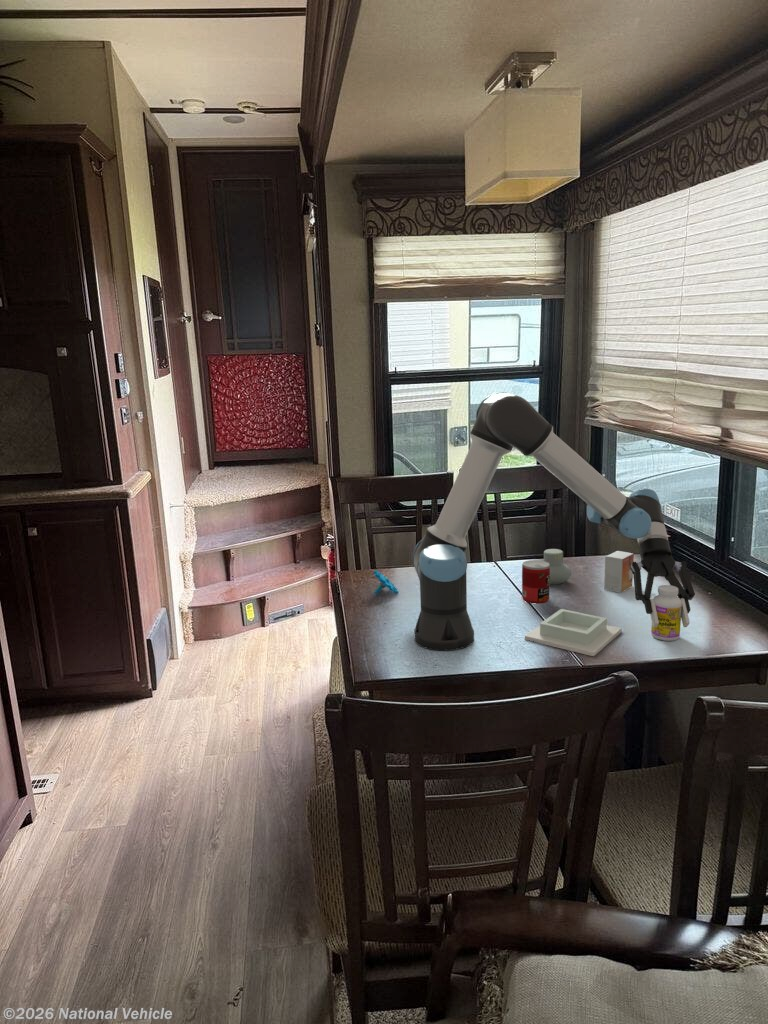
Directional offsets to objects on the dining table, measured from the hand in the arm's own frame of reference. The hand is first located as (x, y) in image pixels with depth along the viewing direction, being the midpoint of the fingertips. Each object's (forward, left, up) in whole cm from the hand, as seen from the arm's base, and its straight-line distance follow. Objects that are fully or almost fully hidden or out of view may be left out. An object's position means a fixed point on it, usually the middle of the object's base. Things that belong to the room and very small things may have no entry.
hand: (671, 625), depth 168 cm
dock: (-9, +21, -4) cm, 23 cm away
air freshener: (+28, +44, -5) cm, 52 cm away
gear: (-9, +82, -5) cm, 82 cm away
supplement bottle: (+3, +2, -5) cm, 6 cm away
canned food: (+10, +41, -5) cm, 43 cm away
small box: (+33, +25, -5) cm, 42 cm away
